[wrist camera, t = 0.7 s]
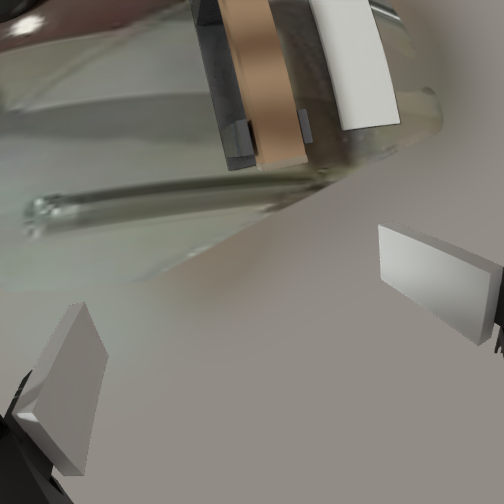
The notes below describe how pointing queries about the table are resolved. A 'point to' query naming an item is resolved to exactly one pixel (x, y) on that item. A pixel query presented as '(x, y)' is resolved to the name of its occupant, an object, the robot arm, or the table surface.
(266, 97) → the rail
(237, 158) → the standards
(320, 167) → the table surface
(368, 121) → the mat
